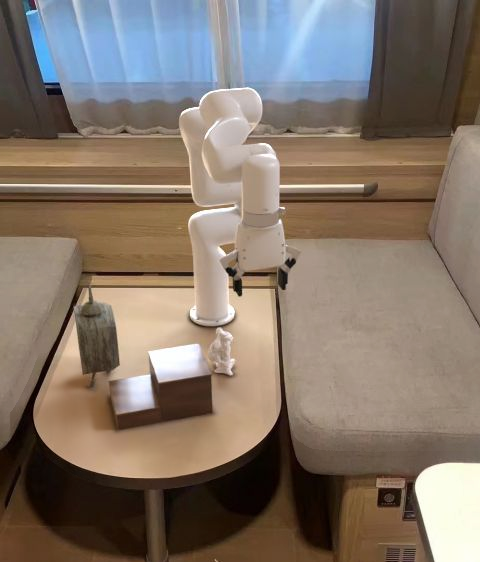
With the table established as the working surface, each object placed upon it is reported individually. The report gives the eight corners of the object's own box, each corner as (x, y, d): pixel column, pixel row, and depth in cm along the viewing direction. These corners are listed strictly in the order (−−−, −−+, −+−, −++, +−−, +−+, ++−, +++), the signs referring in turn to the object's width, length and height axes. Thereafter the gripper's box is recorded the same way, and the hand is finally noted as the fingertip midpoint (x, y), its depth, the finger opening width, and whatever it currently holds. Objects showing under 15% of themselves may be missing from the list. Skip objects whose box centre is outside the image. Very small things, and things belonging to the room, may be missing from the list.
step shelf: (110, 396, 181) (106, 357, 176) (199, 381, 186) (198, 343, 181) (118, 430, 170) (113, 390, 165) (213, 413, 174) (212, 373, 169)
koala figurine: (240, 376, 187) (240, 335, 182) (214, 380, 186) (212, 339, 180) (232, 358, 194) (231, 318, 189) (206, 362, 193) (205, 321, 188)
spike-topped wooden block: (80, 360, 195) (69, 274, 184) (115, 355, 197) (106, 269, 186) (85, 392, 183) (73, 302, 171) (122, 387, 185) (113, 297, 173)
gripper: (294, 204, 158) (292, 277, 166) (214, 214, 155) (216, 288, 163) (307, 217, 152) (304, 292, 160) (224, 228, 148) (225, 304, 156)
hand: (260, 290), depth 161 cm, fingers open, 9 cm apart
